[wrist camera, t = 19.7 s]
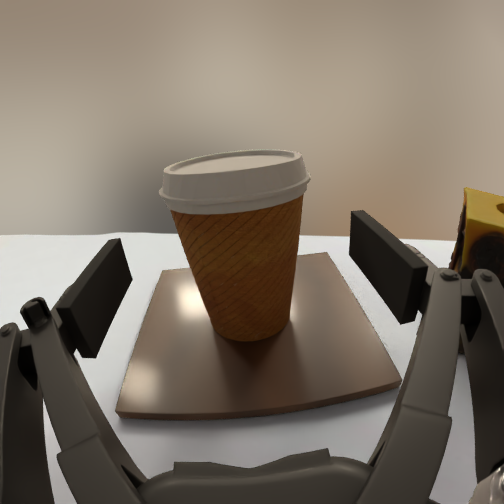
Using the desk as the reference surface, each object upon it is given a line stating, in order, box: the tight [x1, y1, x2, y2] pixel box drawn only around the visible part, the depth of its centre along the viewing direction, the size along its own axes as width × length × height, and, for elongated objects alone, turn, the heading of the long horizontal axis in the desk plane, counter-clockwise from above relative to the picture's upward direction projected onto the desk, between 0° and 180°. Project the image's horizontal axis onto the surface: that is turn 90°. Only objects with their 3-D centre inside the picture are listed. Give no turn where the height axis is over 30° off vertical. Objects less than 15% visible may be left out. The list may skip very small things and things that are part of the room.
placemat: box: [115, 252, 402, 420], centre depth 23 cm, size 18×18×1 cm
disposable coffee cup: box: [159, 149, 310, 341], centre depth 20 cm, size 10×10×12 cm
